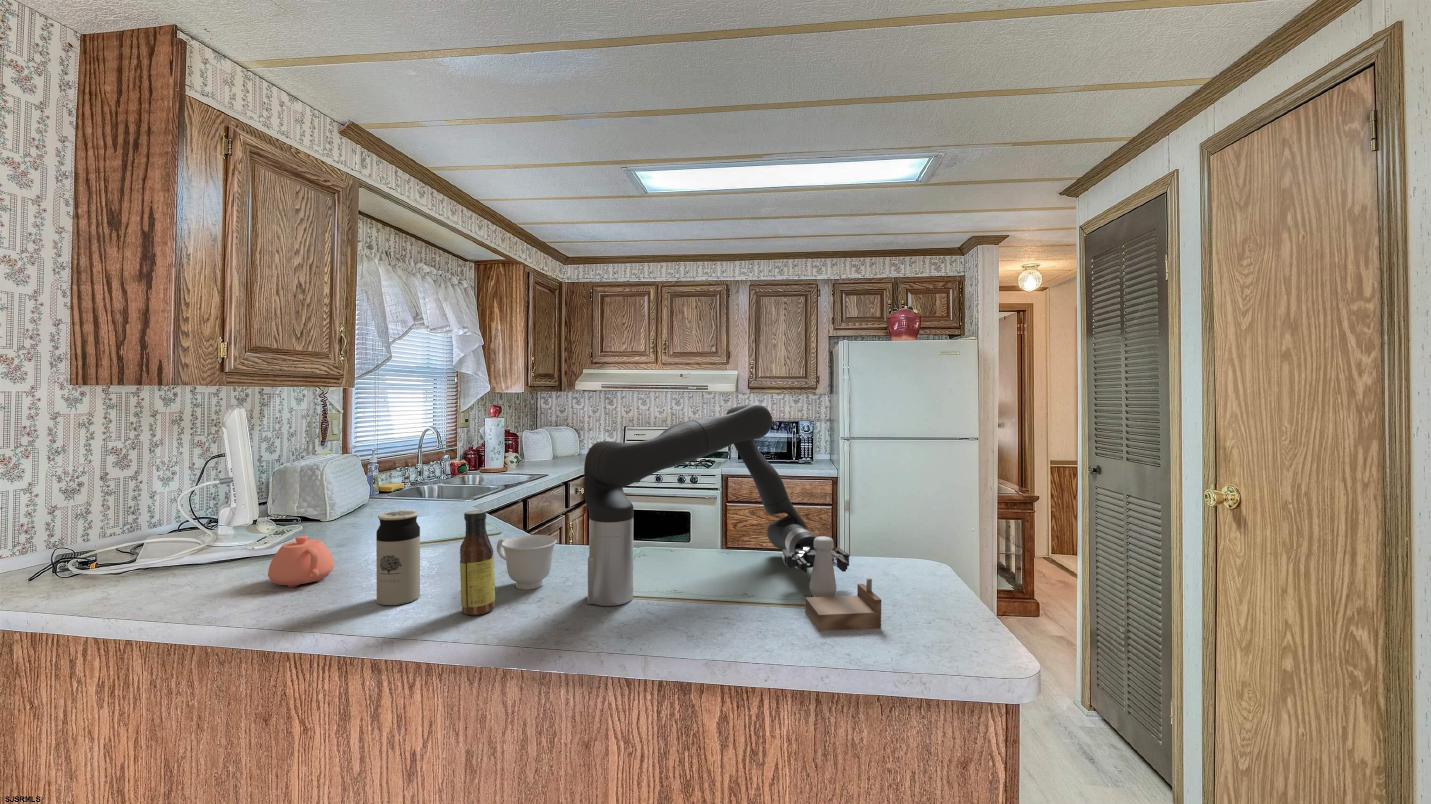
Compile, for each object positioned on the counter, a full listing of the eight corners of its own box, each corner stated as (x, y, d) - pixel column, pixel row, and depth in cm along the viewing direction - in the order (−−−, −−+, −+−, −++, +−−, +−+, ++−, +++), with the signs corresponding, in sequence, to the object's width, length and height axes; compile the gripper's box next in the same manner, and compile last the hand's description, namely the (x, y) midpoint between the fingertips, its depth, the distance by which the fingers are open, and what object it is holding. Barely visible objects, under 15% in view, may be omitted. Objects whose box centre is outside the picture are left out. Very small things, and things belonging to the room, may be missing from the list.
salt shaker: (820, 604, 120) (820, 542, 120) (803, 595, 125) (804, 536, 125) (842, 600, 123) (843, 539, 122) (825, 591, 128) (825, 533, 127)
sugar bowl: (321, 569, 140) (321, 527, 140) (346, 581, 132) (346, 536, 132) (259, 582, 130) (259, 537, 130) (282, 596, 122) (282, 548, 122)
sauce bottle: (501, 607, 117) (501, 509, 116) (479, 618, 111) (479, 515, 110) (475, 603, 119) (475, 507, 119) (452, 614, 113) (452, 513, 113)
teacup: (515, 572, 139) (515, 531, 139) (567, 580, 133) (567, 537, 133) (478, 588, 128) (478, 543, 127) (533, 598, 122) (533, 551, 122)
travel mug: (396, 591, 125) (396, 509, 125) (428, 594, 124) (428, 511, 123) (367, 604, 117) (366, 516, 117) (401, 608, 116) (401, 519, 116)
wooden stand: (818, 631, 107) (819, 589, 106) (805, 612, 116) (805, 573, 115) (881, 628, 108) (881, 586, 108) (862, 610, 117) (863, 571, 117)
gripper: (775, 532, 137) (792, 550, 121) (832, 530, 139) (857, 549, 123) (774, 563, 137) (792, 586, 121) (832, 561, 139) (857, 584, 123)
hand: (825, 567), depth 122 cm, fingers open, 8 cm apart
